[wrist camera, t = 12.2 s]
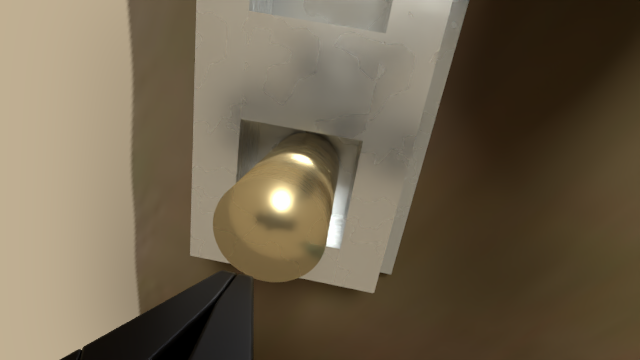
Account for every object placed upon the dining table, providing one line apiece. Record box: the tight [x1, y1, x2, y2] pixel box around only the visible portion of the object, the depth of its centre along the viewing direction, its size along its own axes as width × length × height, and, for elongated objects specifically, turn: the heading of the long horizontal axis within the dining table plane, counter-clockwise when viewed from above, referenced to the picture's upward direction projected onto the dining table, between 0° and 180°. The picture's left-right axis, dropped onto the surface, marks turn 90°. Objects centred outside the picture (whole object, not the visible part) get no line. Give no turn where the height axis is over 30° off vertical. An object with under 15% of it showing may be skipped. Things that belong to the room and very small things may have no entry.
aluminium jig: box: [190, 0, 469, 293], centre depth 16 cm, size 13×22×4 cm, turn 171°
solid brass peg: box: [213, 133, 339, 282], centre depth 15 cm, size 4×4×8 cm
